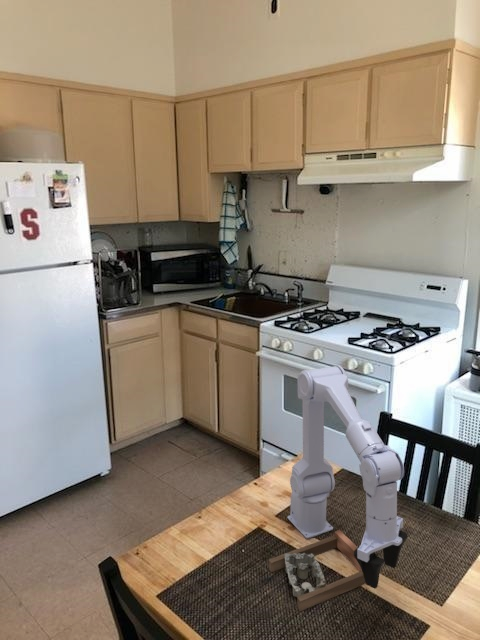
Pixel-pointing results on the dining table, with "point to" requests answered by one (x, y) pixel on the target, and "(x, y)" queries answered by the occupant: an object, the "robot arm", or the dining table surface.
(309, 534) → the robot arm
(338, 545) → the channel
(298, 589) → the egg carton
